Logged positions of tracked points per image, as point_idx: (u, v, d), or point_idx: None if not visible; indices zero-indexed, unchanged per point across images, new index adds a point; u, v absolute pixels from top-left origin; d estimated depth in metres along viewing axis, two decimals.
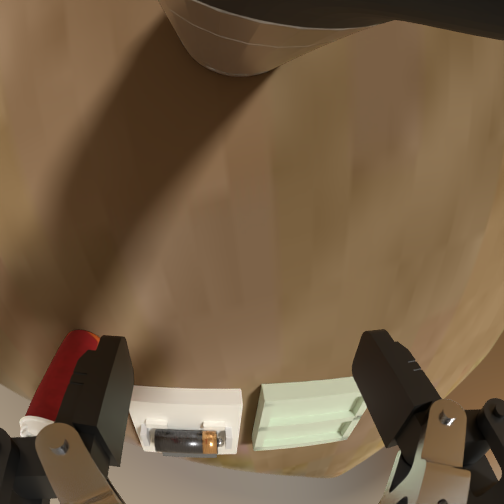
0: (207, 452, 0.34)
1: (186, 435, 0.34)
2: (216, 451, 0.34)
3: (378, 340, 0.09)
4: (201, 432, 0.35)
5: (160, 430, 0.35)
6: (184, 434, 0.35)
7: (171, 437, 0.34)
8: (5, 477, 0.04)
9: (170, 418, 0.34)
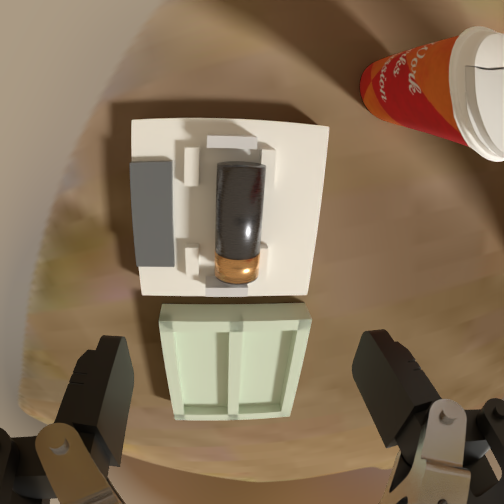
0: (247, 267, 0.22)
1: None
2: (249, 280, 0.22)
3: (378, 340, 0.09)
4: None
5: None
6: None
7: None
8: (6, 477, 0.04)
9: (279, 192, 0.23)
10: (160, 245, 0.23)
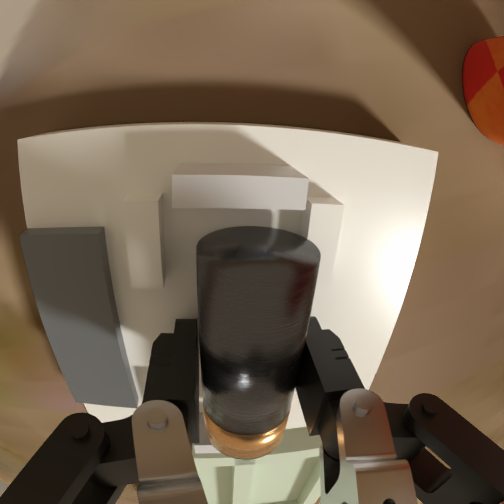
0: (265, 440, 0.10)
1: None
2: (268, 452, 0.10)
3: None
4: None
5: None
6: None
7: None
8: (85, 468, 0.05)
9: (335, 286, 0.11)
10: (106, 380, 0.11)
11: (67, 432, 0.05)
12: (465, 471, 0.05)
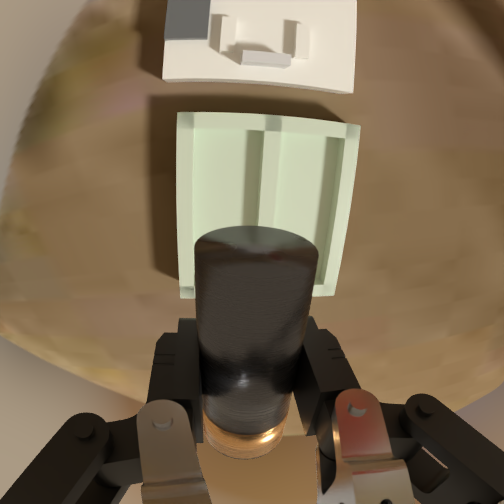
0: (262, 440, 0.10)
1: None
2: (266, 452, 0.10)
3: None
4: None
5: None
6: None
7: None
8: (89, 468, 0.05)
9: None
10: (195, 15, 0.17)
11: (72, 432, 0.05)
12: (463, 471, 0.05)
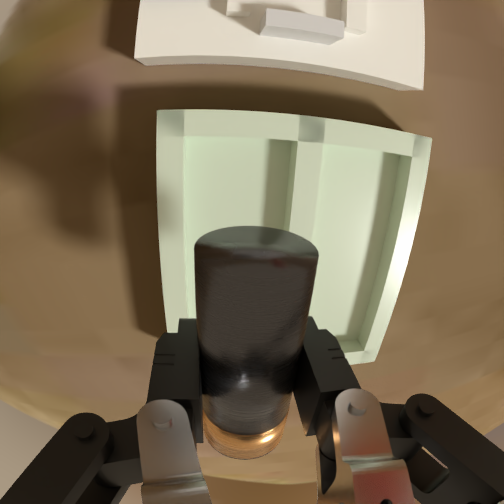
0: (263, 440, 0.10)
1: None
2: (266, 452, 0.10)
3: None
4: None
5: None
6: None
7: None
8: (90, 468, 0.05)
9: None
10: None
11: (72, 432, 0.05)
12: (463, 471, 0.05)
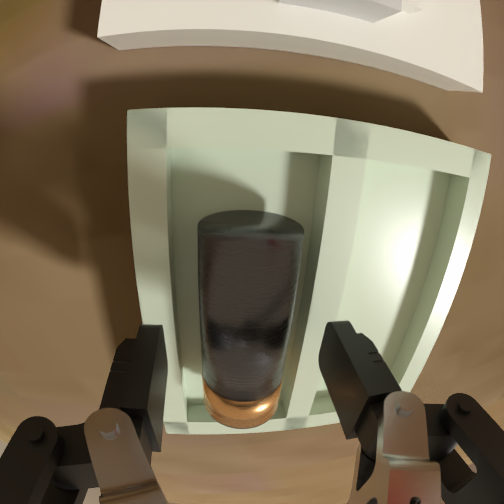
0: (258, 408, 0.11)
1: None
2: (261, 422, 0.12)
3: (339, 330, 0.10)
4: None
5: None
6: None
7: None
8: (45, 469, 0.04)
9: None
10: None
11: (24, 436, 0.05)
12: (488, 471, 0.04)
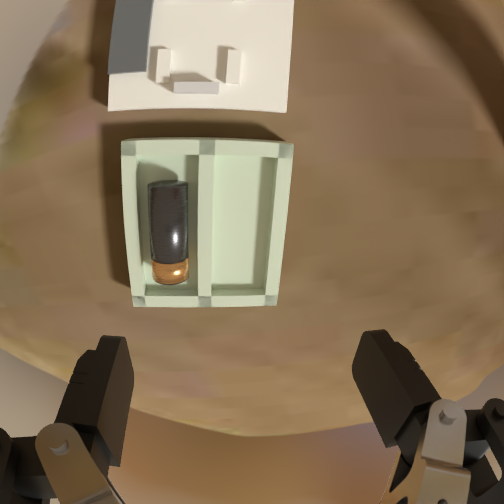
0: (174, 270, 0.25)
1: None
2: (178, 282, 0.26)
3: (378, 340, 0.09)
4: None
5: None
6: None
7: None
8: (5, 477, 0.04)
9: (252, 7, 0.19)
10: (134, 50, 0.19)
11: None
12: None
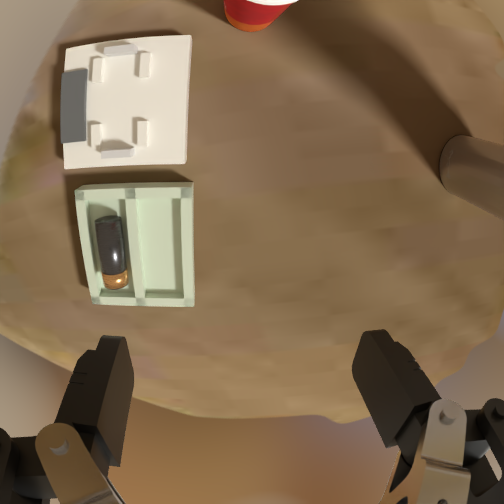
0: (117, 279, 0.34)
1: None
2: (120, 287, 0.35)
3: (378, 340, 0.09)
4: None
5: None
6: None
7: None
8: (6, 477, 0.04)
9: (155, 82, 0.28)
10: (76, 125, 0.28)
11: None
12: None
